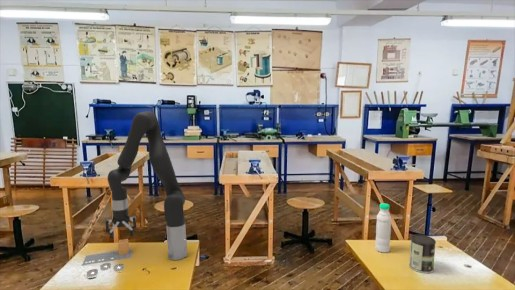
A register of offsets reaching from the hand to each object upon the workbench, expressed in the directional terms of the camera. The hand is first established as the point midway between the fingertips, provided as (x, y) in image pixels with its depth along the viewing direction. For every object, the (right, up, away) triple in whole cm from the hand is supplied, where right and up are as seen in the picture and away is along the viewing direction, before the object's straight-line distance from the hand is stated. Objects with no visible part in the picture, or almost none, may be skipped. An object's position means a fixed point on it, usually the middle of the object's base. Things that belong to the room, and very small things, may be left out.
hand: (121, 237), depth 159 cm
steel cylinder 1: (-5, -12, -18) cm, 23 cm away
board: (-5, -10, -3) cm, 12 cm away
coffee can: (+146, -10, -13) cm, 147 cm away
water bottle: (+135, -8, +4) cm, 135 cm away
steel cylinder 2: (-2, -12, -13) cm, 17 cm away
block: (0, -8, +1) cm, 8 cm away
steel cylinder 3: (+5, -12, -14) cm, 19 cm away
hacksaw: (+15, -11, -5) cm, 20 cm away
